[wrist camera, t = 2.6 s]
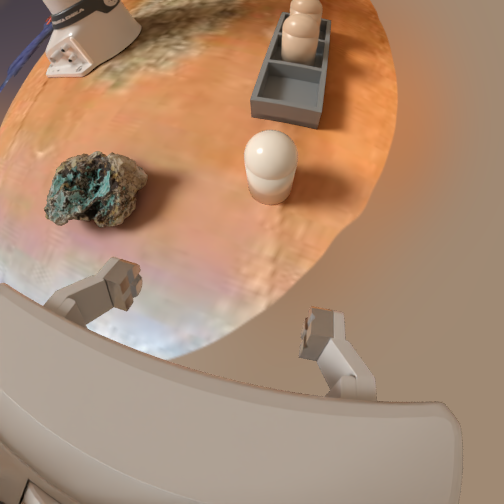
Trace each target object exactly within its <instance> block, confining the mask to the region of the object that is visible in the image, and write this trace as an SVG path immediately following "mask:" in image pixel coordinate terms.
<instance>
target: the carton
mask: <svg viewBox="0 0 504 504" xmlns="http://www.w3.org/2000/svg"><path fill="white" fill-rule="evenodd" d="M322 10H323V8H322V4H321V3H320V1H319V0H292V2H291V4H290V13H286V12H282V14H281V16H280V19H279V22H278V24H277V27H276V29H275V32H274V35H273V37H272V40H271V42H270V45H269V48H268V51H267V53H266V56H265V59H264V62H263V64H262V67H261V70H260V73H259V76H258V79H257V81H256V84H255V87H254V90H253V93H252V96H251V99H250V103H251V116H252V117H254V118H261V119H267V120H273V121H279V122H284V123H289V124H294V125H299V126H304V127H309V128H313V129H317V127H318V124H319V120H320V117H321V113H322V106H323V98H324V90H325V81H326V72H327V63H328V53H329V42H330V30H331V20H327V19H322V18H321V16H322Z"/></svg>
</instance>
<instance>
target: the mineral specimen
mask: <svg viewBox="0 0 504 504" xmlns="http://www.w3.org/2000/svg"><path fill="white" fill-rule="evenodd" d="M147 177H148V175H147V174H146V173H145V172H144V171H143V169H142V168H140V167H139V166H137V165H136V162H135V161H133V160H132V159H130V158H128V157H126V156H123V155H118V154H114V153H111V154H109V155H108V156H106V155H105V154H102V152H99V151H96V152H94V153H93V154H91V155H88V154H82V155H77V156H76V157H71V158H69V159H67V161H65V162H62V163H61V165H60V166H59V167H58V168H57V169H56V174H55V176H54V178H53V180H52V185H51V188H50V190H49V194H48V196H47V205H46V207H45V208H44V210H45V212H46V218H47V219H49V220H51V221H53V222H54V223H55V224H56V225H60V226H62V225H64V224H66V223H68V220H72V219H76V220H87V221H90V220H91V219H94V221H95V223H96V224H97V225H98V226H99V227H100V228H103V227H106V226H116V225H119V224H122V223H123V221H124V219H125V218H127V217H128V216H129V215H130V214H131V213H132V211H133V210H134V209H135V206H136V197H134V195H135V194H136V193H137V190H141V188H142V187H144V186H145V185H146V181H147Z"/></svg>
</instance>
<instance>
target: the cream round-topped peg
mask: <svg viewBox="0 0 504 504" xmlns="http://www.w3.org/2000/svg"><path fill="white" fill-rule="evenodd" d="M244 160H245V167H246V174H247V181H248V188H249V192H250V194H251V195H252V197H253V198H254V199H255V200H256V201H258V202H260V203H262V204H265V205H275V204H279V203H281V202H283V201H284V200H285V199H286V198H287V197H288V196H289V194H290V192H291V188H292V184H293V180H294V175H295V171H296V167H297V162H298V151H297V147H296V145H295V143H294V142H293V140H292V139H291V138H290V137H289V136H288V135H286V134H284V133H282V132H280V131H276V130H266V131H262V132H259V133H257V134H256V135H254V136H253V137H252V138H251V139H250V140H249V142H248V143H247V145H246V148H245V152H244Z"/></svg>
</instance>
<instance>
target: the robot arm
mask: <svg viewBox="0 0 504 504" xmlns="http://www.w3.org/2000/svg"><path fill="white" fill-rule="evenodd" d="M43 2H44V3H45V4H46V6H47V7H48V9H49V10H50V12H51V16H50V17H49V18H48V19H47V20H49V19H50V18H51V19H50V20H49V22H48V23H47V24H49V23H50V22H51V21H52V25H53V29H54V31H53V33H52V36H51V38H50V41H49V43H48V46H47V48H46V56H47V58H48V59H49V61H50V62H51V64H50V66H49V68H48V70H47V72H46V75H47V77H83V76H85V75H86V74H88V73H89V72H90V71H92V70H93V69H94V68H95V67H96V66H98V65H99V64H101V63H103V62H105V61H106V60H108V59H110V58H112V57H113V56H115V55H116V54H118V53H119V52H121V51H122V50H123V49H125V48H126V47H127V46H128V45H130V44H131V43H132V42H133V41H134V40H135V39H136V38H137V36H138V35H139V33H140V31H141V25H140V24H139V23H138V22H137V21H136V20H135V19H134V18H133V17H132V15H131V14H130V13H129V11H128V10H127V9H126V7H125V6H124V4H123V3H122V1H121V0H43ZM47 20H46V21H47ZM140 271H141V270H140V265H138V264H135V263H132V262H129V261H126V260H123V259H119V258H116V257H112V258H110V259H109V260H108V261H107V263H106V264H105V265H104V266H103V267H102V268H101V269H100V270H99V272H98V273H97V274H96V275H95V276H90V277H87V278H85V279H83V280H80V281H78V282H76V283H73V284H71V285H69V286H66V287H64V288H62V289H59V290H57V291H55V293H54V294H53V295H52V296H51V297H50V299H49V300H48V301H47V302H46V303H45V305H44V306H42V305H40V304H38V303H37V302H35V301H33V300H31V299H30V298H28V297H26V296H25V295H23V294H21V293H20V292H18V291H17V290H15V289H13V288H12V287H10V286H9V285H7V284H5V283H0V504H459V500H460V493H461V485H462V473H463V442H462V431H461V426H460V423H459V421H458V420H457V418H456V417H455V416H454V414H453V413H452V412H451V411H450V409H449V408H448V407H447V406H446V405H445V404H444V403H442V402H383V401H377V397H376V381H375V377H374V376H373V374H372V373H371V371H370V370H369V368H368V367H367V366H366V364H365V363H364V361H363V360H362V359H361V357H360V356H359V355H358V353H357V352H356V351H355V349H354V348H353V346H352V345H351V343H350V342H349V341H346V337H345V321H344V313H343V312H341V311H335V310H330V309H324V308H319V307H314V306H311V307H310V309H309V311H308V317H307V318H306V319H305V321H304V324H303V327H302V333H301V338H302V340H303V341H302V343H301V345H300V353H299V358H304V359H309V360H314V361H317V364H318V366H319V368H320V370H321V372H322V374H323V376H324V378H325V380H326V382H327V384H328V386H329V388H330V391H329V393H328V394H327V395H326V396H325V397H323V396H315V395H308V394H302V393H295V392H289V391H283V390H277V389H272V388H267V387H263V386H258V385H253V384H249V383H244V382H240V381H236V380H231V379H227V378H224V377H220V376H216V375H212V374H208V373H205V372H201V371H198V370H195V369H191V368H188V367H185V366H181V365H178V364H175V363H172V362H169V361H166V360H163V359H160V358H158V357H155V356H152V355H149V354H146V353H144V352H141V351H138V350H136V349H133V348H131V347H128V346H126V345H123V344H121V343H118V342H116V341H113V340H111V339H109V338H106V337H104V336H102V335H100V334H97V333H95V332H93V331H91V330H89V329H88V328H87V326H86V324H88V323H89V322H91V321H93V320H94V319H96V318H97V317H99V316H101V315H102V314H104V313H105V312H107V311H109V310H110V309H112V308H113V307H115V308H118V309H121V310H124V311H128V310H129V308H130V307H131V305H132V304H133V298H134V297H136V296H138V295H139V293H140V291H141V288H142V277H141V276H140V275H139V272H140Z"/></svg>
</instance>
